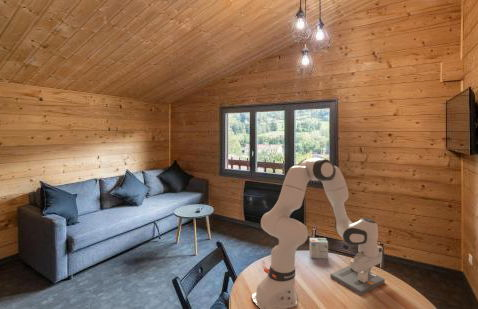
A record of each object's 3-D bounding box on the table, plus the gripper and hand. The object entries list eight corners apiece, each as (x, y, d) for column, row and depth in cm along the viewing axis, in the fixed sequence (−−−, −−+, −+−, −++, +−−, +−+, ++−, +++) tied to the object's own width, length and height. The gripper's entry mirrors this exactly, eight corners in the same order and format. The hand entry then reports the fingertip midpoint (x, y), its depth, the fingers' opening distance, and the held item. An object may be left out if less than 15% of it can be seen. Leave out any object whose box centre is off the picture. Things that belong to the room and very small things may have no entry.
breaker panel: (361, 295, 122) (361, 290, 122) (330, 277, 138) (330, 273, 138) (384, 282, 133) (384, 278, 132) (353, 267, 148) (353, 263, 148)
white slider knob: (355, 270, 140) (355, 263, 139) (350, 268, 142) (350, 260, 142) (359, 269, 141) (359, 261, 141) (353, 266, 144) (353, 259, 144)
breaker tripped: (363, 282, 129) (364, 274, 128) (357, 279, 132) (357, 271, 131) (367, 281, 130) (367, 272, 130) (361, 277, 133) (361, 269, 133)
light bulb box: (325, 253, 164) (326, 237, 163) (328, 259, 158) (328, 242, 157) (308, 253, 165) (309, 237, 164) (310, 258, 159) (311, 241, 158)
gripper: (361, 257, 123) (360, 284, 124) (384, 247, 134) (383, 272, 135) (349, 251, 129) (348, 278, 130) (373, 242, 139) (372, 267, 140)
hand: (366, 275), depth 133 cm, fingers closed
